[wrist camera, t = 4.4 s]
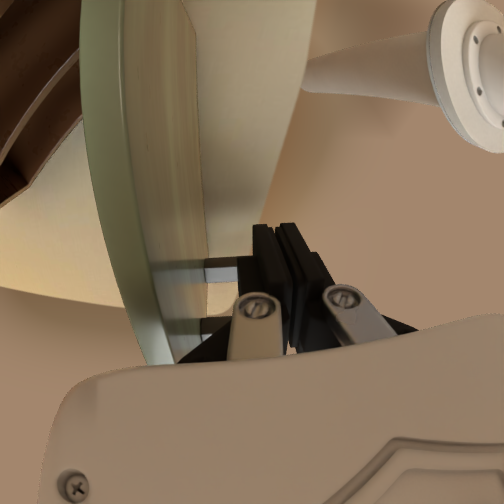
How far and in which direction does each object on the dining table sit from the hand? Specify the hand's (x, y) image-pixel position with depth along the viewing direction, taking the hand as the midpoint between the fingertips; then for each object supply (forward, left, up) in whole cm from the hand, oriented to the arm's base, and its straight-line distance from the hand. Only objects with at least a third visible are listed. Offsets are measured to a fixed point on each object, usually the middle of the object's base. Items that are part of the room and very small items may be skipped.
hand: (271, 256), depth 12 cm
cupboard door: (0, -2, -13) cm, 13 cm away
